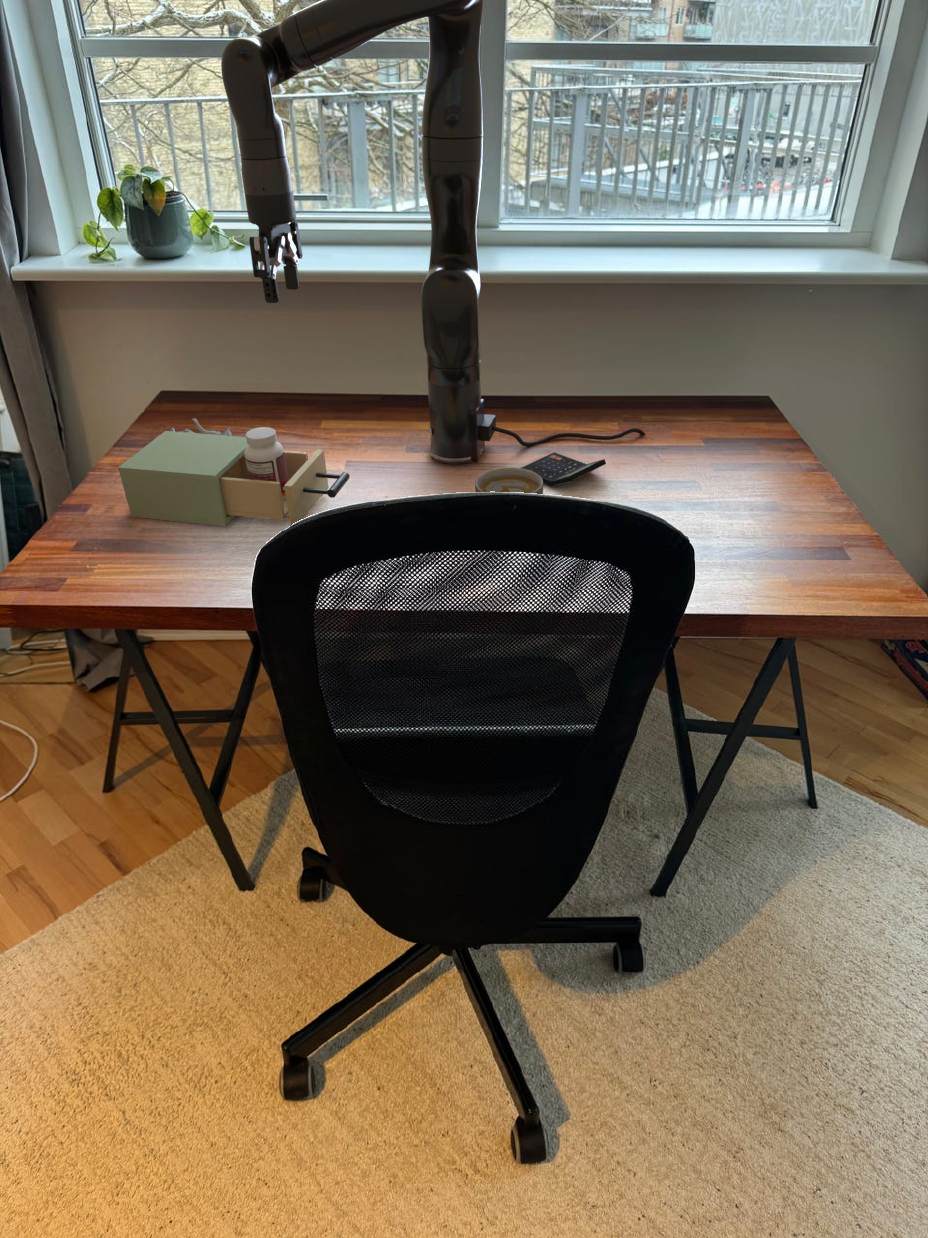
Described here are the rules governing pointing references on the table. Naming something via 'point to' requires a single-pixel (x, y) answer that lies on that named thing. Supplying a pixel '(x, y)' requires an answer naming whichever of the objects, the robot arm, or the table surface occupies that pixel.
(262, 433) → the pill bottle
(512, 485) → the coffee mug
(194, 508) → the cabinet
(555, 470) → the calculator
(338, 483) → the drawer
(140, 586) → the table surface
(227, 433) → the soldier figure
